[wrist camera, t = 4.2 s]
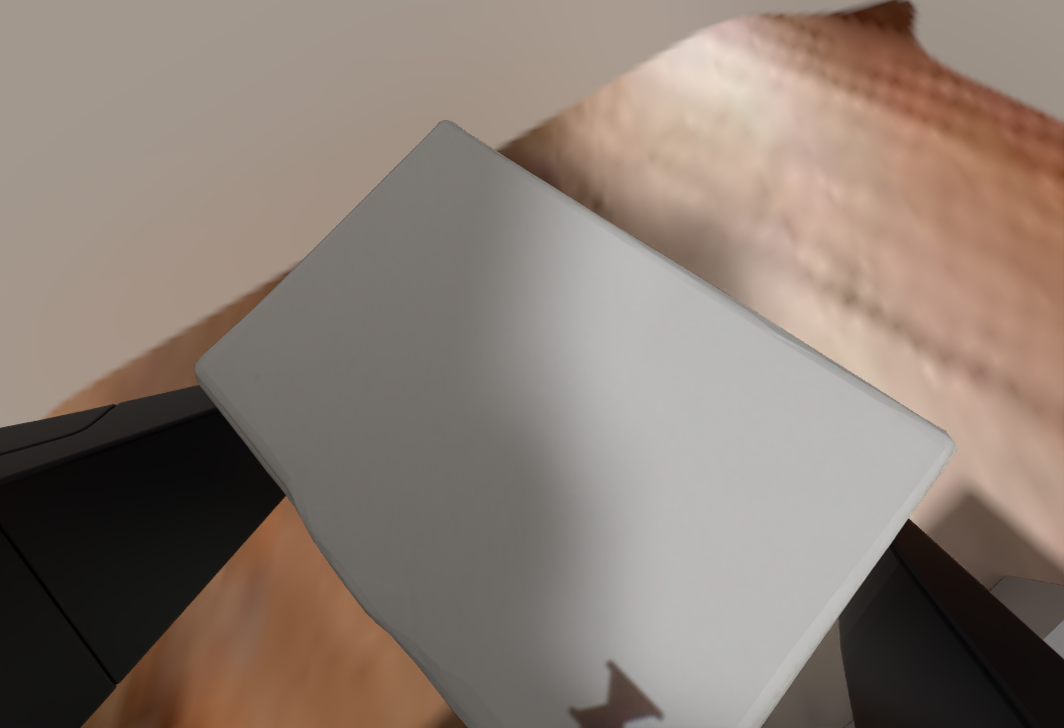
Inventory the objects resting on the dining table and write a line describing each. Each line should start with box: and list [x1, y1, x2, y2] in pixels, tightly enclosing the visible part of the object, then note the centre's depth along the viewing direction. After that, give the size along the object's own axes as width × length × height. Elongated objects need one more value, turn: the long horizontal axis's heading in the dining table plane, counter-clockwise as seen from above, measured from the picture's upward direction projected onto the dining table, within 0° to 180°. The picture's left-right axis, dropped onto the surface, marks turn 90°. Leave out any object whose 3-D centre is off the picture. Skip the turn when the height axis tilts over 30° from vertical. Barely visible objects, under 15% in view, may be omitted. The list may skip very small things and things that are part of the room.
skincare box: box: [195, 120, 956, 728], centre depth 10 cm, size 6×4×12 cm
